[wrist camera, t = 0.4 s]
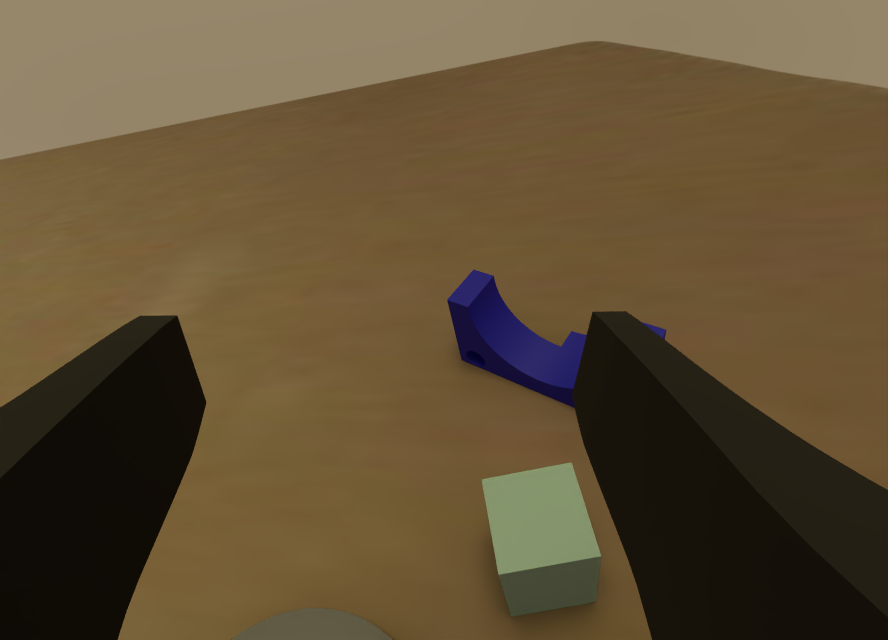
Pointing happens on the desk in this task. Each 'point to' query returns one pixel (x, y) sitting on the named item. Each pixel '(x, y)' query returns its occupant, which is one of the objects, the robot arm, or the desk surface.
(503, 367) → the cable clip
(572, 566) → the pale green block
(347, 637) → the slate plate
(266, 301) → the desk surface
